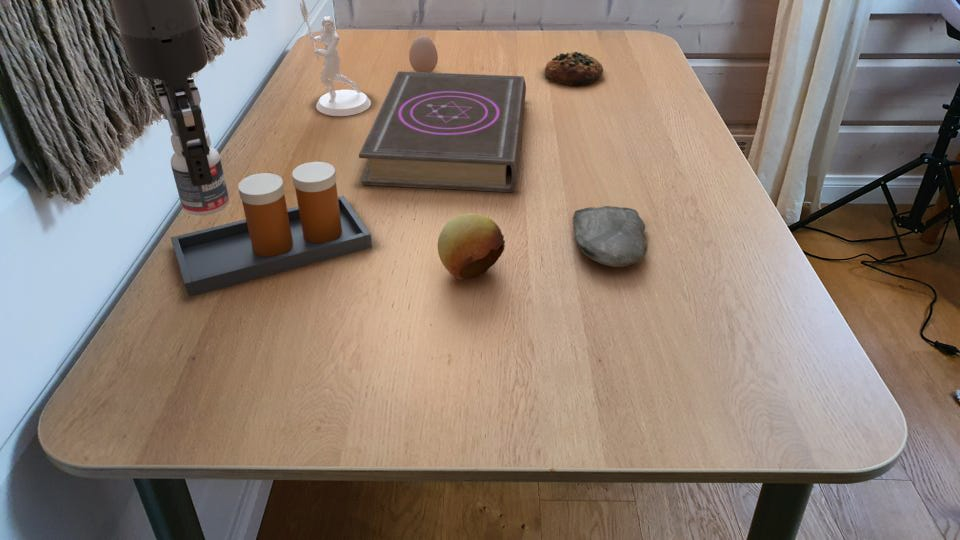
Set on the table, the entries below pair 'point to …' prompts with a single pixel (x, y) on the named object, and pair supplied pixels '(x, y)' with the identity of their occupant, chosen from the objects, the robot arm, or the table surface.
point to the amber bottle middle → (266, 214)
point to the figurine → (334, 74)
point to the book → (447, 132)
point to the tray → (232, 260)
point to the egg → (423, 54)
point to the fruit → (470, 245)
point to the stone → (610, 235)
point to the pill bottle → (203, 196)
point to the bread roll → (574, 69)
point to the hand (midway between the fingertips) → (197, 171)
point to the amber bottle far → (317, 201)
